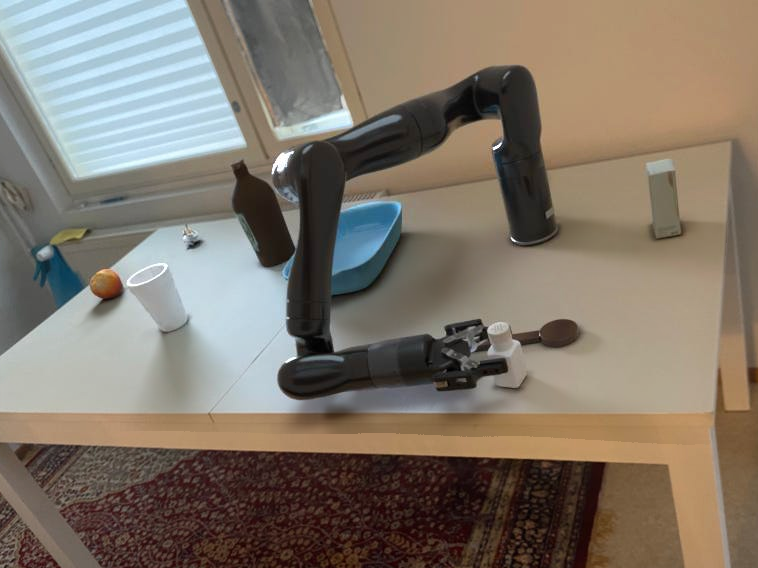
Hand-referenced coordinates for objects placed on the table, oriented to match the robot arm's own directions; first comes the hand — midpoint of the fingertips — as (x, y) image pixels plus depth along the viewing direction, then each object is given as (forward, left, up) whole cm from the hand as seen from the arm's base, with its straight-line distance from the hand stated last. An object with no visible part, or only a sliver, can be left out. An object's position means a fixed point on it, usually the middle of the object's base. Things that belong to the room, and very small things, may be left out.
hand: (509, 347), depth 101 cm
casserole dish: (-60, -20, -6) cm, 64 cm away
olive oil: (-80, -38, -6) cm, 89 cm away
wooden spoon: (-10, +3, -6) cm, 12 cm away
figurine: (-113, -64, -6) cm, 130 cm away
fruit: (-94, -85, -6) cm, 127 cm away
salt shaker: (0, -1, -6) cm, 6 cm away
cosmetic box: (-28, +37, -6) cm, 47 cm away
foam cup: (-62, -63, -6) cm, 89 cm away
